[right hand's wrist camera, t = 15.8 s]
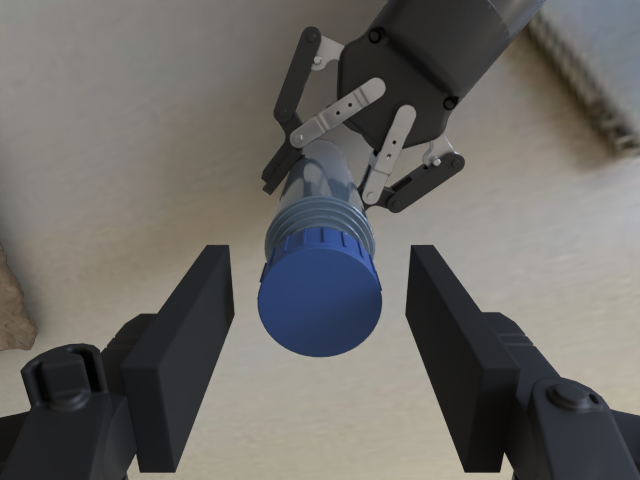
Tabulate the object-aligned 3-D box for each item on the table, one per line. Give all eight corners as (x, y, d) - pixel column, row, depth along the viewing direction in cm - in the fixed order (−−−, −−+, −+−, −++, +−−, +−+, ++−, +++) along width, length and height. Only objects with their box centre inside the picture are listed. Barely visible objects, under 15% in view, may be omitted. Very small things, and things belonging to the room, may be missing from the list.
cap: (397, 257, 14) (408, 281, 12) (341, 343, 15) (344, 376, 14) (295, 205, 14) (291, 223, 12) (245, 299, 15) (235, 328, 13)
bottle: (314, 204, 36) (305, 379, 14) (281, 161, 35) (218, 283, 13) (357, 173, 35) (418, 310, 13) (326, 128, 34) (336, 200, 12)
